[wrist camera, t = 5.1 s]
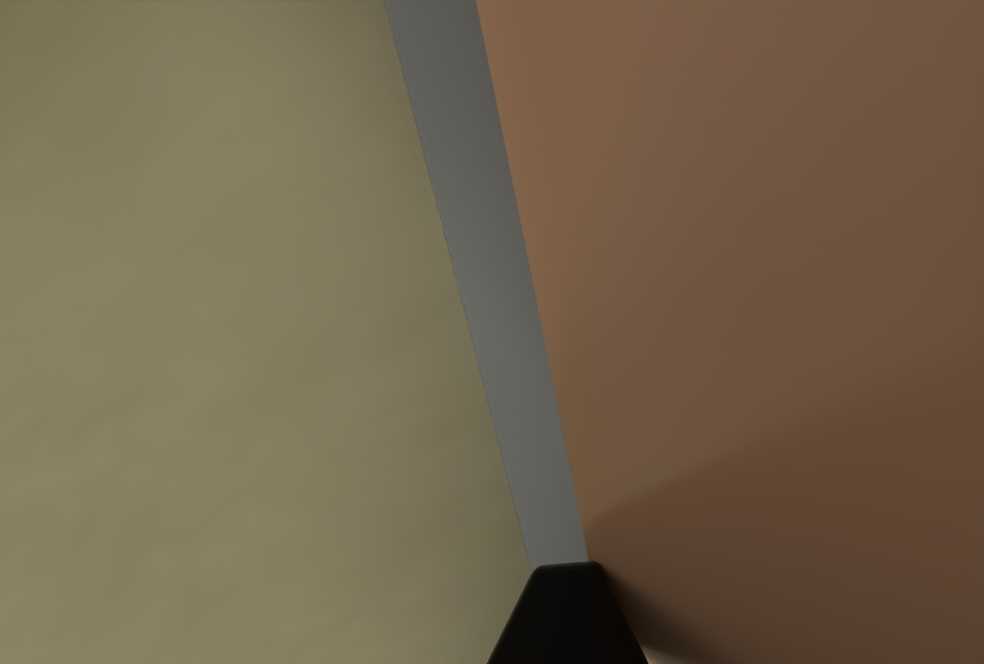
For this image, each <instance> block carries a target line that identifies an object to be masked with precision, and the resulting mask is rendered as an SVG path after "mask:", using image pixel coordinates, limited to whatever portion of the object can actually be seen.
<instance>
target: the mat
mask: <svg viewBox="0 0 984 664" xmlns="http://www.w3.org/2000/svg"><path fill="white" fill-rule="evenodd" d="M384 2H385V6H386V10H387V14H388V18H389V22H390V25H391V29H392V33H393V37H394V41H395V45H396V49H397V52H398V56H399V60H400V64H401V68H402V72H403V76H404V79H405V83H406V87H407V91H408V95H409V99H410V103H411V107H412V110H413V114H414V118H415V122H416V126H417V130H418V134H419V137H420V141H421V145H422V149H423V153H424V157H425V161H426V164H427V168H428V172H429V176H430V180H431V184H432V188H433V191H434V195H435V199H436V203H437V207H438V211H439V215H440V219H441V222H442V226H443V230H444V234H445V238H446V242H447V246H448V249H449V253H450V257H451V261H452V265H453V269H454V273H455V276H456V280H457V284H458V288H459V292H460V296H461V300H462V304H463V307H464V311H465V315H466V319H467V323H468V327H469V331H470V334H471V338H472V342H473V346H474V350H475V354H476V358H477V361H478V365H479V369H480V373H481V377H482V381H483V385H484V388H485V392H486V396H487V400H488V404H489V408H490V412H491V416H492V419H493V423H494V427H495V431H496V435H497V439H498V443H499V446H500V450H501V454H502V458H503V462H504V466H505V470H506V473H507V477H508V481H509V485H510V489H511V493H512V497H513V501H514V504H515V508H516V512H517V516H518V520H519V524H520V528H521V531H522V535H523V539H524V543H525V547H526V551H527V555H528V558H529V562H530V566H531V570H532V572H533V571H534V570H535V569H536V568H537V567H538V566H541V565H549V564H561V563H574V562H586V561H589V559H588V555H587V550H586V545H585V540H584V535H583V530H582V525H581V520H580V515H579V510H578V505H577V500H576V495H575V490H574V485H573V480H572V475H571V470H570V465H569V460H568V455H567V450H566V445H565V440H564V435H563V430H562V425H561V420H560V415H559V410H558V405H557V400H556V395H555V391H554V386H553V381H552V376H551V371H550V366H549V361H548V356H547V351H546V346H545V341H544V336H543V331H542V326H541V321H540V316H539V311H538V306H537V301H536V296H535V291H534V286H533V281H532V276H531V271H530V266H529V261H528V256H527V251H526V246H525V241H524V236H523V231H522V227H521V222H520V217H519V212H518V207H517V202H516V197H515V192H514V187H513V182H512V177H511V172H510V167H509V162H508V157H507V152H506V147H505V142H504V137H503V132H502V127H501V122H500V117H499V112H498V107H497V102H496V97H495V92H494V87H493V82H492V77H491V72H490V68H489V63H488V58H487V53H486V48H485V43H484V38H483V33H482V28H481V23H480V18H479V13H478V8H477V3H476V0H384Z"/></svg>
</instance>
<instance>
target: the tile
mask: <svg viewBox="0 0 984 664" xmlns="http://www.w3.org/2000/svg"><path fill="white" fill-rule="evenodd" d="M476 3H477V8H478V13H479V18H480V23H481V28H482V33H483V38H484V43H485V48H486V53H487V58H488V63H489V68H490V72H491V77H492V82H493V87H494V92H495V97H496V102H497V107H498V112H499V117H500V122H501V127H502V132H503V137H504V142H505V147H506V152H507V157H508V162H509V167H510V172H511V177H512V182H513V187H514V192H515V197H516V202H517V207H518V212H519V217H520V222H521V227H522V231H523V236H524V241H525V246H526V251H527V256H528V261H529V266H530V271H531V276H532V281H533V286H534V291H535V296H536V301H537V306H538V311H539V316H540V321H541V326H542V331H543V336H544V341H545V346H546V351H547V356H548V361H549V366H550V371H551V376H552V381H553V386H554V391H555V395H556V400H557V405H558V410H559V415H560V420H561V425H562V430H563V435H564V440H565V445H566V450H567V455H568V460H569V465H570V470H571V475H572V480H573V485H574V490H575V495H576V500H577V505H578V510H579V515H580V520H581V525H582V530H583V535H584V540H585V545H586V550H587V555H588V559H589V561H595V562H597V563H599V564H600V565H601V566H602V567H603V569H604V571H605V573H606V575H607V577H608V579H609V581H610V584H611V586H612V588H613V590H614V592H615V594H616V596H617V598H618V600H619V602H620V604H621V607H622V609H623V611H624V613H625V615H626V617H627V619H628V621H629V623H630V625H631V627H632V630H633V632H634V634H635V636H636V638H637V640H638V642H639V644H640V646H641V648H642V650H643V653H644V655H645V657H646V659H647V661H648V663H649V664H984V0H476Z"/></svg>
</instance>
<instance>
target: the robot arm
mask: <svg viewBox="0 0 984 664" xmlns="http://www.w3.org/2000/svg"><path fill="white" fill-rule="evenodd" d="M487 664H649V663H648V661H647V659H646V657H645V655H644V653H643V650H642V648H641V646H640V644H639V642H638V640H637V638H636V636H635V634H634V632H633V630H632V627H631V625H630V623H629V621H628V619H627V617H626V615H625V613H624V611H623V609H622V607H621V604H620V602H619V600H618V598H617V596H616V594H615V592H614V590H613V588H612V586H611V584H610V581H609V579H608V577H607V575H606V573H605V571H604V569H603V567H602V566H601V565H600V564H599V563H597V562H595V561H586V562H574V563H561V564H549V565H541V566H538V567H537V568H536V569H535V570H534V571H533V572H532V574H531V576H530V578H529V580H528V582H527V584H526V586H525V588H524V590H523V592H522V594H521V596H520V598H519V600H518V602H517V604H516V606H515V608H514V610H513V612H512V614H511V616H510V618H509V620H508V622H507V624H506V626H505V628H504V630H503V632H502V634H501V636H500V638H499V640H498V642H497V644H496V646H495V648H494V650H493V652H492V654H491V656H490V658H489V660H488V662H487Z"/></svg>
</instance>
